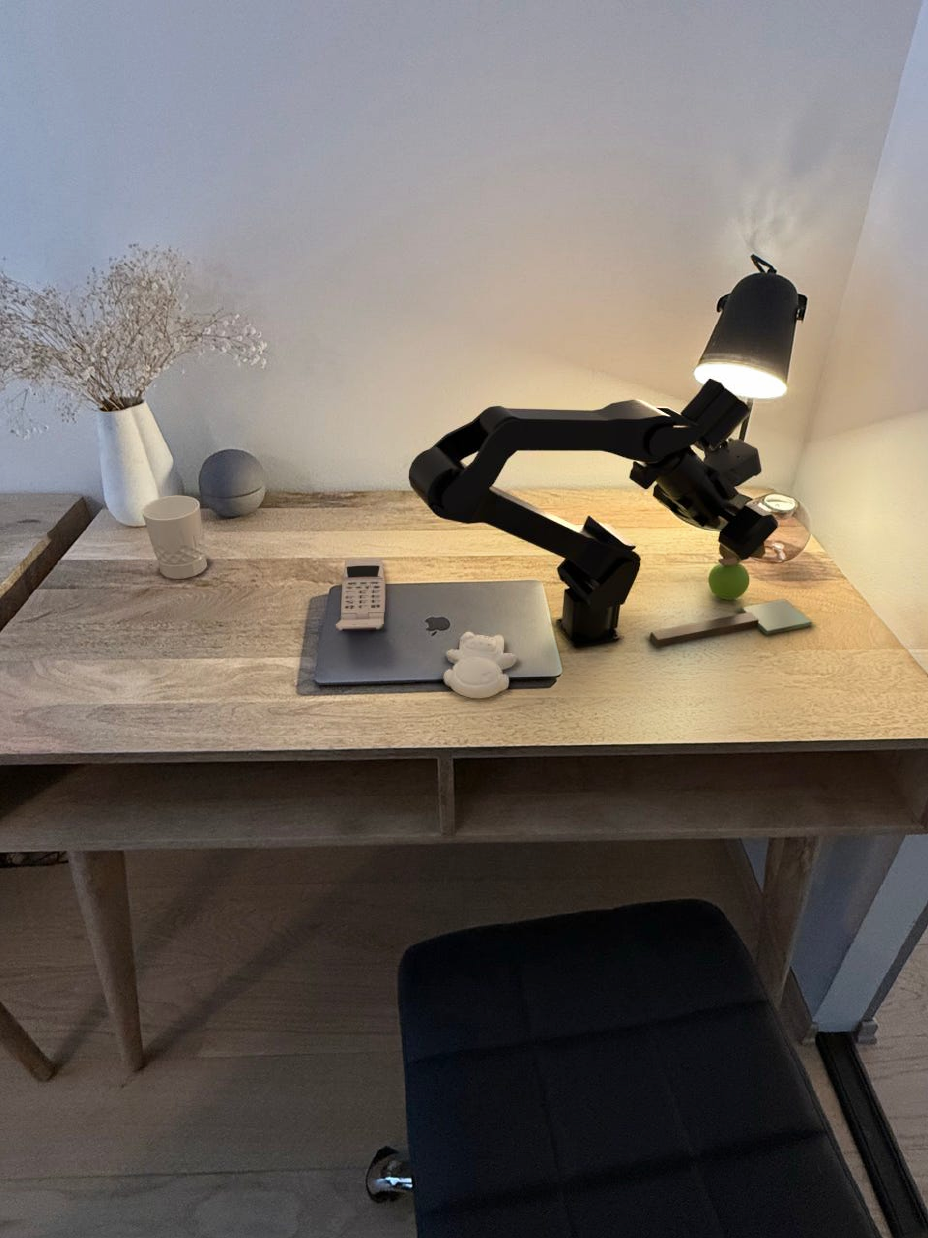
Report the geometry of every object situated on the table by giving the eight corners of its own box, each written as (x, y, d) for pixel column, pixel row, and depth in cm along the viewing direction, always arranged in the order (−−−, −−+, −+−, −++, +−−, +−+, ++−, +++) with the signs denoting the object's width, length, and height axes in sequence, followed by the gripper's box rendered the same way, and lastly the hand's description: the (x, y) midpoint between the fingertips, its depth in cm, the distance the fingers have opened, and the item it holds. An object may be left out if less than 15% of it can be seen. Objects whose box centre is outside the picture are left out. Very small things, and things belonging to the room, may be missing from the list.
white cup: (145, 575, 121) (129, 514, 116) (179, 551, 127) (166, 491, 122) (189, 586, 119) (175, 523, 113) (222, 560, 125) (210, 500, 119)
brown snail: (759, 600, 115) (777, 523, 109) (721, 610, 113) (737, 532, 106) (734, 582, 119) (750, 506, 113) (697, 591, 117) (711, 515, 111)
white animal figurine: (522, 646, 106) (523, 626, 104) (503, 703, 96) (504, 683, 95) (456, 636, 108) (456, 617, 106) (431, 692, 98) (430, 672, 97)
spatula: (664, 656, 104) (666, 648, 104) (642, 630, 109) (643, 623, 108) (811, 626, 110) (813, 618, 109) (783, 603, 115) (785, 595, 114)
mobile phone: (334, 628, 99) (342, 530, 120) (337, 667, 102) (344, 566, 123) (384, 626, 100) (383, 529, 120) (386, 665, 103) (385, 564, 124)
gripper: (782, 453, 93) (833, 523, 103) (684, 402, 107) (737, 468, 117) (713, 527, 95) (770, 590, 105) (625, 468, 109) (682, 527, 119)
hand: (739, 539), depth 111 cm, fingers open, 9 cm apart
